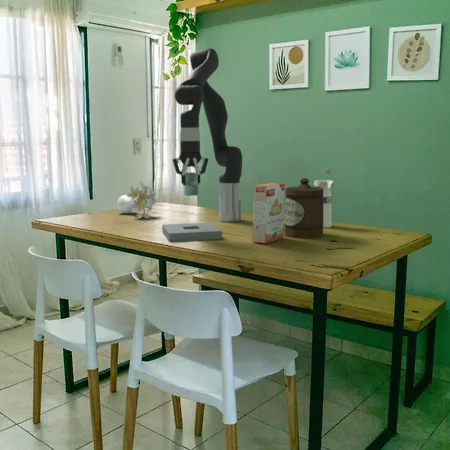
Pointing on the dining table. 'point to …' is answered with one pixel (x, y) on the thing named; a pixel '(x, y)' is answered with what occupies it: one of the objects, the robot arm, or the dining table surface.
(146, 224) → the dining table surface
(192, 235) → the pocket plate
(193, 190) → the teal block
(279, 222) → the cracker box
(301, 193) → the wooden container
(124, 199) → the flower vase
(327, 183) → the white spray bottle
